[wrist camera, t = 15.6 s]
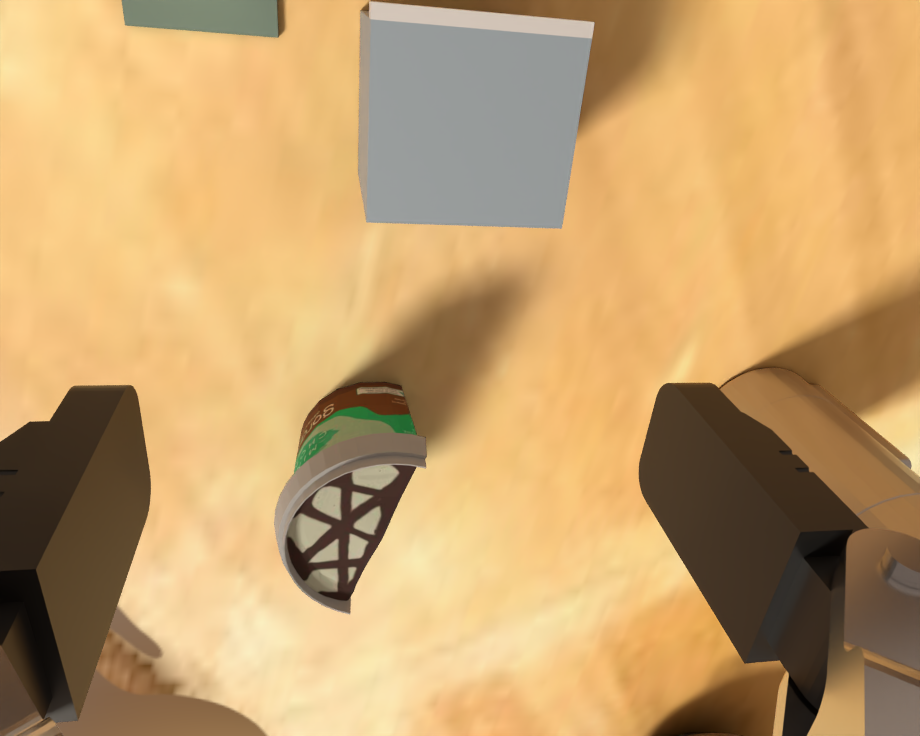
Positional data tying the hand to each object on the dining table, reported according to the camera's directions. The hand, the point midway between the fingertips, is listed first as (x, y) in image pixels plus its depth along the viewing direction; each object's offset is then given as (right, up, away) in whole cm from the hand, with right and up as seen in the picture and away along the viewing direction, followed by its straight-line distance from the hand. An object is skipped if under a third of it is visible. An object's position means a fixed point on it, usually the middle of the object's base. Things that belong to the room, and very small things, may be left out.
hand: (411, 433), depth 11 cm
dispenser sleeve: (0, +15, +26) cm, 30 cm away
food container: (-8, -3, +35) cm, 36 cm away
